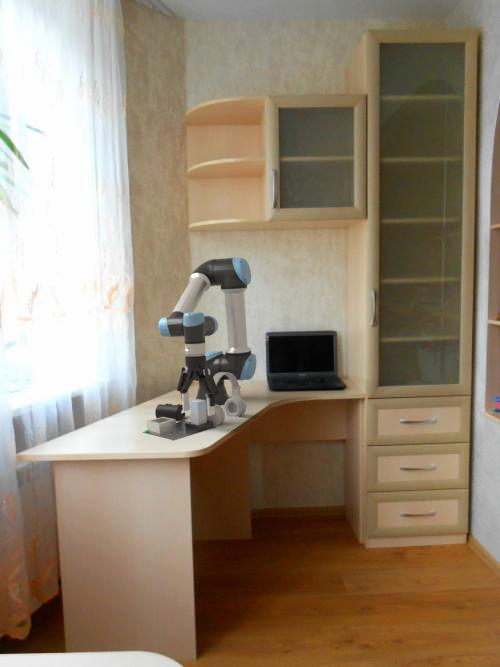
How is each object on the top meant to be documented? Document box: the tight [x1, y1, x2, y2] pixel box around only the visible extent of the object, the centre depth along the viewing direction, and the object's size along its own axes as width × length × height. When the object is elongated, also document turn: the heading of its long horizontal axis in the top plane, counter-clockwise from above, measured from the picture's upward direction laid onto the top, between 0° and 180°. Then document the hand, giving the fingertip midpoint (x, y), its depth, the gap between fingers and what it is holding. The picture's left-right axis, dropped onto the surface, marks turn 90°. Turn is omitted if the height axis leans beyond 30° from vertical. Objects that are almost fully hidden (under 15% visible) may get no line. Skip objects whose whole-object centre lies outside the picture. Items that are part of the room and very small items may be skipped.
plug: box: [189, 399, 207, 425], centre depth 188 cm, size 4×4×10 cm
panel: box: [141, 417, 217, 441], centre depth 187 cm, size 20×18×5 cm
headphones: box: [205, 372, 247, 427], centre depth 199 cm, size 20×8×19 cm, turn 149°
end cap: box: [154, 403, 186, 422], centre depth 204 cm, size 10×7×7 cm
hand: (198, 412), depth 188 cm, fingers open, 13 cm apart
